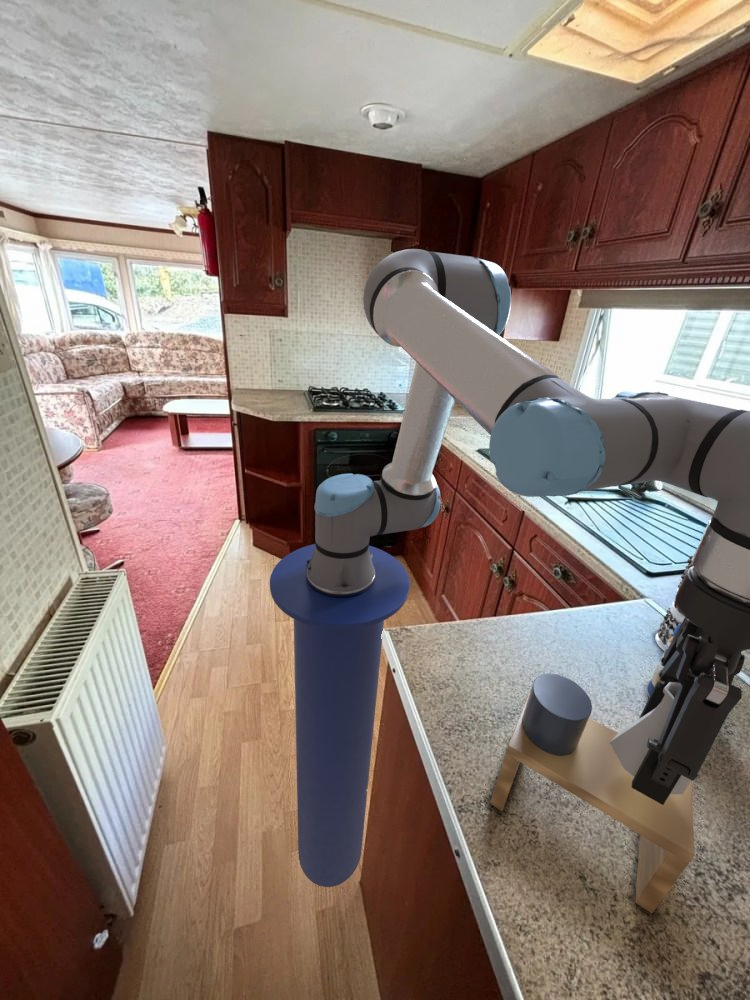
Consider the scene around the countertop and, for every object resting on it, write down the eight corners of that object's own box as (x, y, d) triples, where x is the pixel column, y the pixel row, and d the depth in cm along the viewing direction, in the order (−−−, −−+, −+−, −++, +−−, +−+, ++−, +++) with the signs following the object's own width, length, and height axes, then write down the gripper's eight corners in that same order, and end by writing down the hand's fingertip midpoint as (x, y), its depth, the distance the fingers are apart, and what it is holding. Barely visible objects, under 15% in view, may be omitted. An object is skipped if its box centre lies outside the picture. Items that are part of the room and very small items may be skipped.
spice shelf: (490, 803, 52) (508, 745, 47) (513, 743, 60) (531, 688, 55) (652, 914, 43) (694, 855, 38) (655, 827, 51) (691, 769, 46)
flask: (644, 723, 47) (676, 659, 43) (706, 785, 41) (750, 719, 37) (596, 738, 45) (625, 673, 41) (654, 807, 39) (695, 738, 35)
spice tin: (515, 734, 48) (526, 699, 46) (529, 698, 53) (540, 664, 51) (572, 767, 45) (587, 731, 43) (581, 725, 50) (596, 691, 48)
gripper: (847, 688, 24) (696, 885, 33) (777, 550, 40) (688, 710, 49) (694, 632, 28) (597, 823, 37) (686, 526, 43) (619, 679, 53)
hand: (649, 759), depth 43 cm, fingers closed on flask, 8 cm apart
